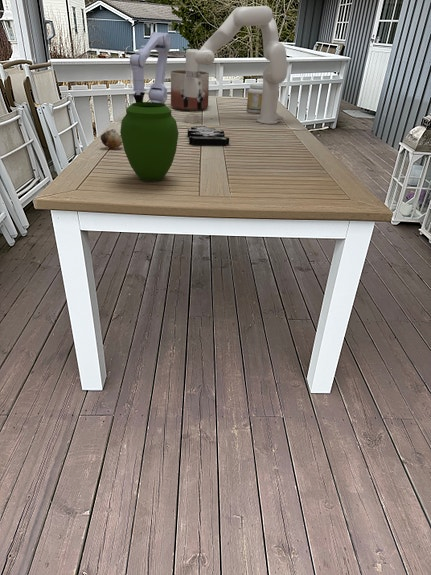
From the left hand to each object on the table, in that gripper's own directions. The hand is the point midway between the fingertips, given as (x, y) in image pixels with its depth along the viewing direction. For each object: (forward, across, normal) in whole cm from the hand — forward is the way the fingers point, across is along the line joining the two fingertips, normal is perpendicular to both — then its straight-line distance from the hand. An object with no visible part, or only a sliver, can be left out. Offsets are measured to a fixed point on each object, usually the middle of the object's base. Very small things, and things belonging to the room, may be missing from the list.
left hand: (139, 107), depth 226 cm
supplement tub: (+8, +50, -74) cm, 90 cm away
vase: (+8, -100, -10) cm, 101 cm away
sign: (+8, -34, -35) cm, 50 cm away
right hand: (0, +7, -29) cm, 30 cm away
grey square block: (+8, +7, -29) cm, 31 cm away
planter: (+8, +55, -29) cm, 63 cm away
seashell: (+8, -59, +8) cm, 60 cm away
